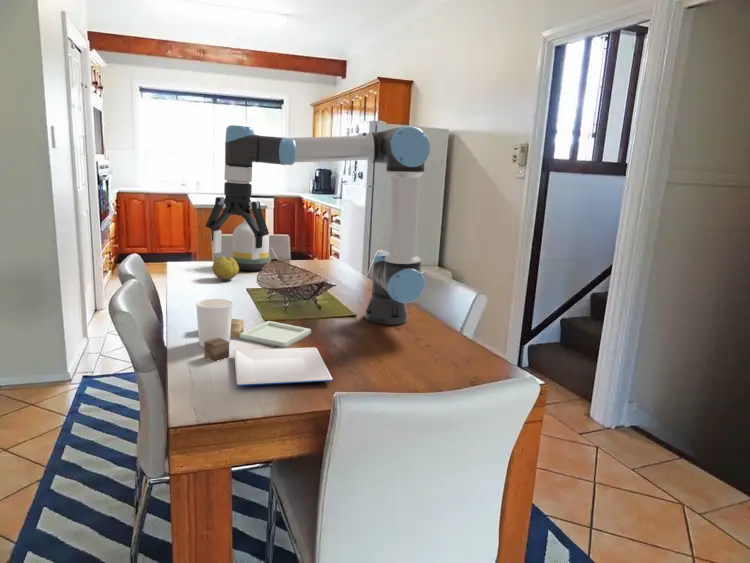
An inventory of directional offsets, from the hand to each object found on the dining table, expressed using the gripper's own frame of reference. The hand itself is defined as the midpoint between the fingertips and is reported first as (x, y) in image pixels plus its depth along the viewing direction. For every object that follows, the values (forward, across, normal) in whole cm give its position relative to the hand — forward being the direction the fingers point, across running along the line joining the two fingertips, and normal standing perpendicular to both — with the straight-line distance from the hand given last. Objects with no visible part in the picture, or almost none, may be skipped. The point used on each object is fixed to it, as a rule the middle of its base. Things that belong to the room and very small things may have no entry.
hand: (236, 255), depth 153 cm
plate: (+24, -27, +17) cm, 40 cm away
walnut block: (+24, -8, +18) cm, 31 cm away
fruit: (+24, +47, -56) cm, 77 cm away
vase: (+24, +52, -82) cm, 100 cm away
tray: (+24, -12, -5) cm, 27 cm away
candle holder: (+24, -1, +10) cm, 26 cm away
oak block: (+24, -1, +1) cm, 24 cm away
